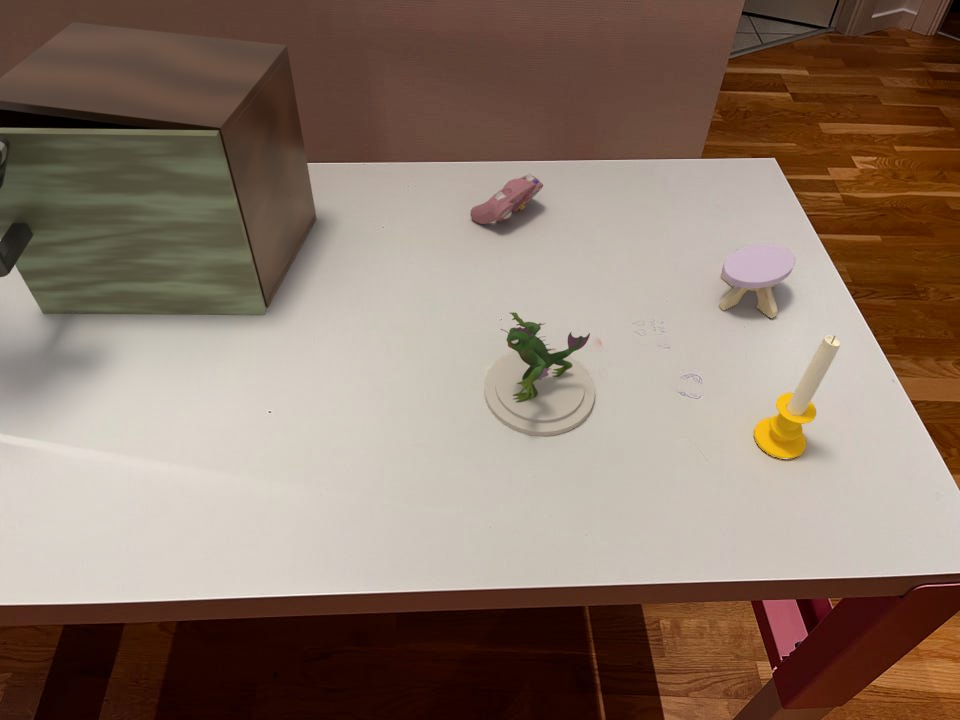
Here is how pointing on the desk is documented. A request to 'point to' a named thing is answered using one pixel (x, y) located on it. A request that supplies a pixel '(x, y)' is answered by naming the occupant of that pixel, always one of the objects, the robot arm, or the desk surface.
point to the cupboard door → (125, 222)
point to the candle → (796, 408)
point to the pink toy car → (507, 200)
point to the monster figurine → (539, 384)
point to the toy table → (756, 274)
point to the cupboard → (183, 115)
